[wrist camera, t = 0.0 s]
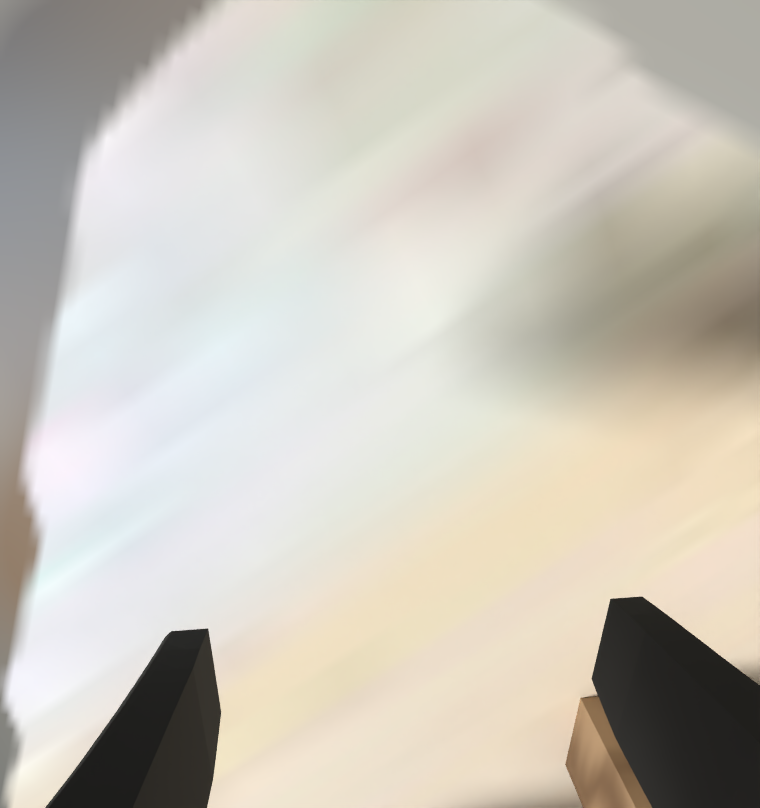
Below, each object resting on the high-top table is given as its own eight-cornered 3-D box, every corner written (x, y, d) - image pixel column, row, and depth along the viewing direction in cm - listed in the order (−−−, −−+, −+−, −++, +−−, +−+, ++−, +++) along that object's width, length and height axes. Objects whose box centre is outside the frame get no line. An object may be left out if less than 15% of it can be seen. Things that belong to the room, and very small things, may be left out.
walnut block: (654, 754, 29) (734, 891, 23) (565, 763, 28) (625, 906, 23) (675, 688, 27) (769, 821, 21) (580, 697, 26) (650, 836, 21)
